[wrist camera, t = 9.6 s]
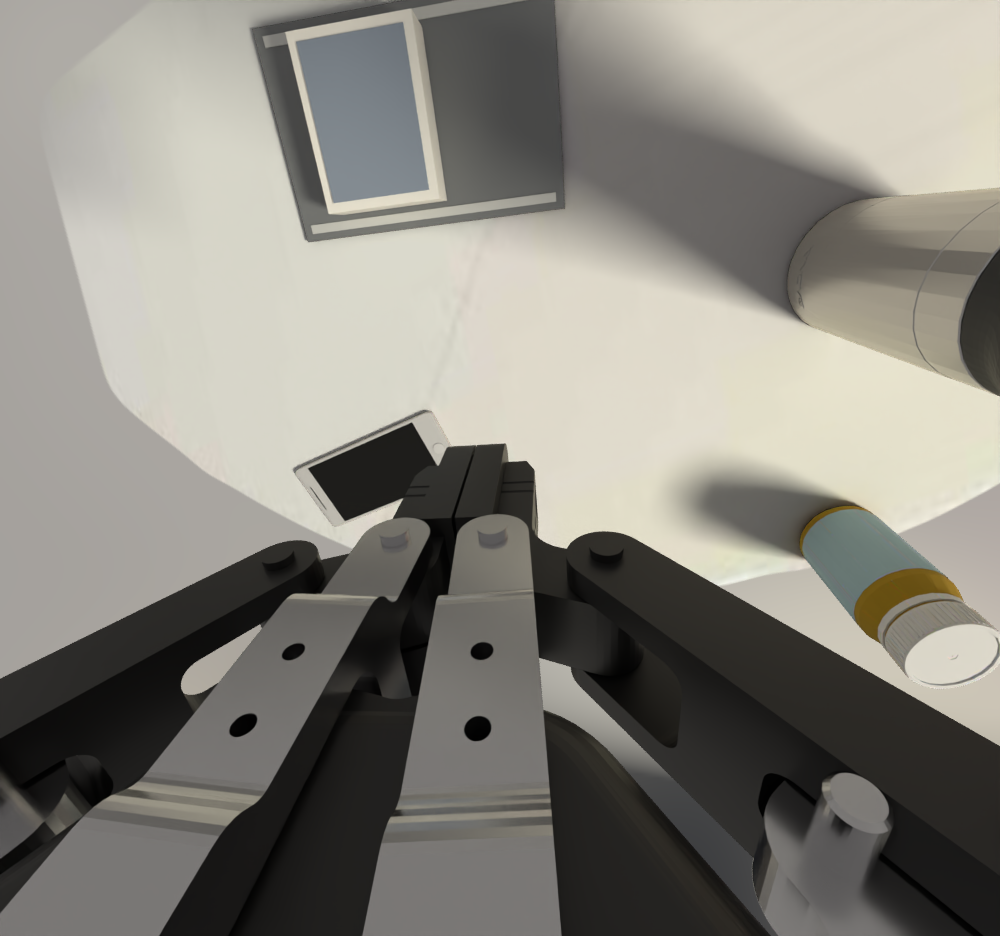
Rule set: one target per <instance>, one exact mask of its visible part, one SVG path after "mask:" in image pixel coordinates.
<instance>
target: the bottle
mask: <svg viewBox="0 0 1000 936" xmlns="http://www.w3.org/2000/svg"><path fill="white" fill-rule="evenodd" d="M799 545H800V550H801V553H802V555H803V556H804V557H805V559H806V560H807V561H808V563H809V564H810V565H811V567H812V568H813V569H814V570H815V571H816V573H817V574H818V575H819V577H820V578H821V579H822V580H823V582H824V583H825V584H826V585H827V587H828V588H829V589H830V590H831V592H832V593H833V594H834V595H835V597H836V598H837V599H838V600H839V601H840V603H841V604H842V605H843V607H844V608H845V609H846V610H847V612H848V613H849V614H850V616H852V618H853V619H854V621H855V622H856V623H857V624H858V625H859V627H860V628H861V629H862V630H863V631H864V632H865V633H866V635H868V636H869V637H871V638H872V639H874V640H876V641H877V642H879V643H880V644H882V646H883V647H884V648H885V650H886V651H887V652H888V653H889V655H890V656H891V657H892V659H893V660H894V661H895V662H896V663H897V665H898V666H899V667H900V668H901V670H902V671H903V672H904V673H905V675H907V677H909V678H910V679H911V680H912V681H914V682H915V683H917V684H919V685H921V686H924V687H928V688H935V689H948V688H955V687H960V686H964V685H967V684H970V683H972V682H975V681H977V680H979V679H981V678H983V677H984V676H986V675H987V674H989V673H990V672H992V671H993V670H994V669H995V668H996V667H997V666H998V665H999V664H1000V632H999V631H998V630H997V629H996V628H994V627H993V626H992V625H991V624H990V623H989V622H988V621H986V620H985V619H984V618H983V617H982V616H981V615H980V614H978V613H977V612H976V611H975V610H973V609H972V608H971V607H970V606H968V605H967V604H966V603H965V602H964V601H963V599H962V596H961V594H960V592H959V590H958V589H957V587H956V586H955V585H954V583H952V582H951V581H950V580H949V579H948V578H947V577H946V576H945V575H944V574H943V573H941V572H940V571H939V570H938V569H937V568H935V566H933V565H932V564H931V563H930V562H929V561H928V560H926V559H925V558H924V557H923V556H922V555H921V554H919V553H918V552H917V551H916V550H915V549H913V547H911V546H910V545H909V544H908V543H907V542H905V541H904V540H903V539H902V538H901V537H900V536H899V535H897V534H896V533H895V532H894V531H893V530H892V529H890V528H889V527H888V526H887V525H886V524H885V523H884V522H882V521H881V520H880V519H879V518H878V517H877V516H875V515H874V514H873V513H871V512H870V511H868V510H866V509H864V508H861V507H856V506H841V507H836V508H832V509H829V510H826V511H823V512H822V513H820V514H818V515H817V516H815V517H814V518H813V519H812V520H811V521H810V522H809V523H808V524H807V525H806V527H805V529H804V530H803V532H802V534H801V537H800V544H799Z"/></svg>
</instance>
